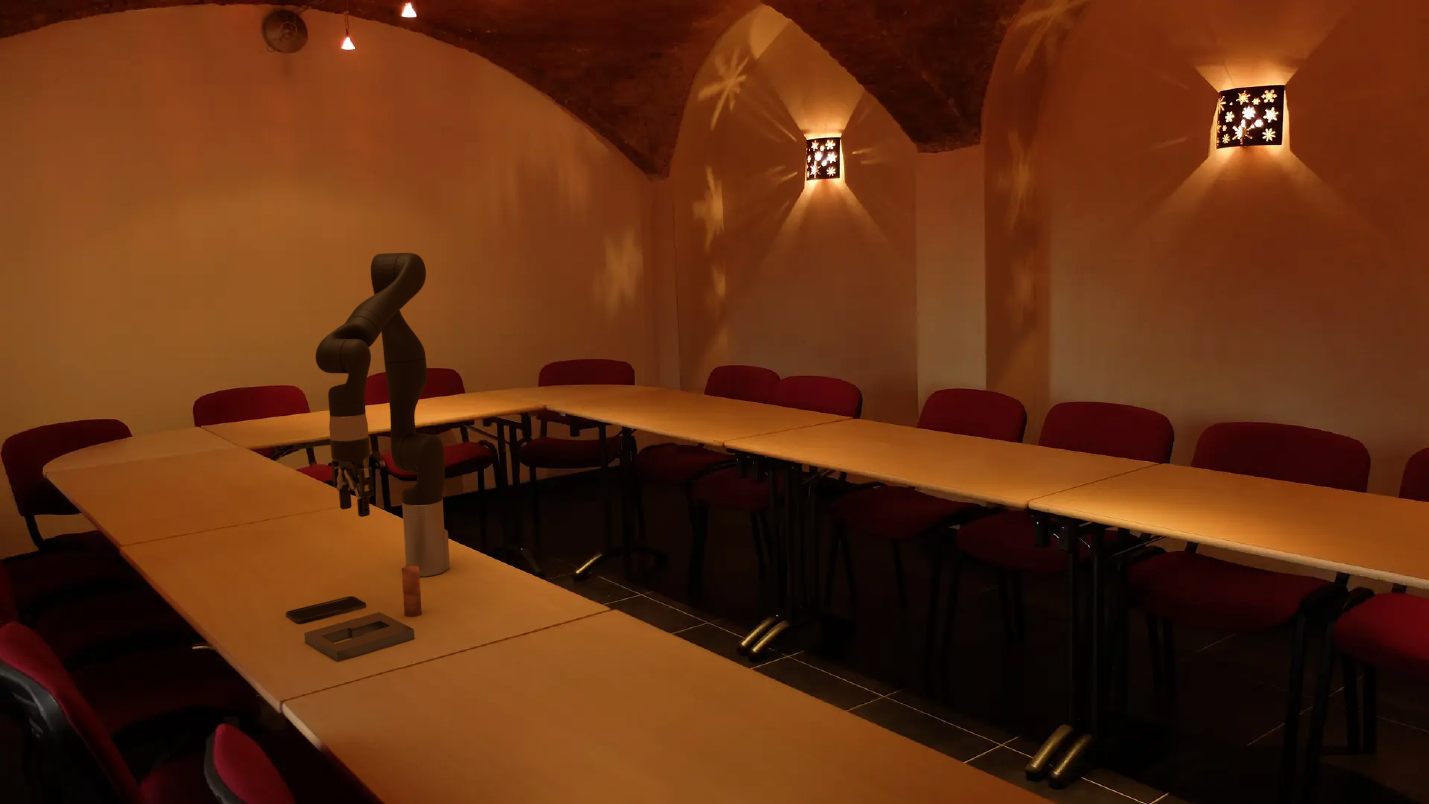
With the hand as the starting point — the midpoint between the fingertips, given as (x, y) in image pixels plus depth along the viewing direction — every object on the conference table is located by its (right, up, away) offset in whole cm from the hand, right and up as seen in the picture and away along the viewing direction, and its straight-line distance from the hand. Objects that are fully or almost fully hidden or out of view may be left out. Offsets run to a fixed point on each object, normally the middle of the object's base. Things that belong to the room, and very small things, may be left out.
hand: (354, 512), depth 222 cm
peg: (+11, -22, +4) cm, 25 cm away
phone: (-8, -22, +6) cm, 25 cm away
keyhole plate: (+5, -24, -11) cm, 27 cm away
